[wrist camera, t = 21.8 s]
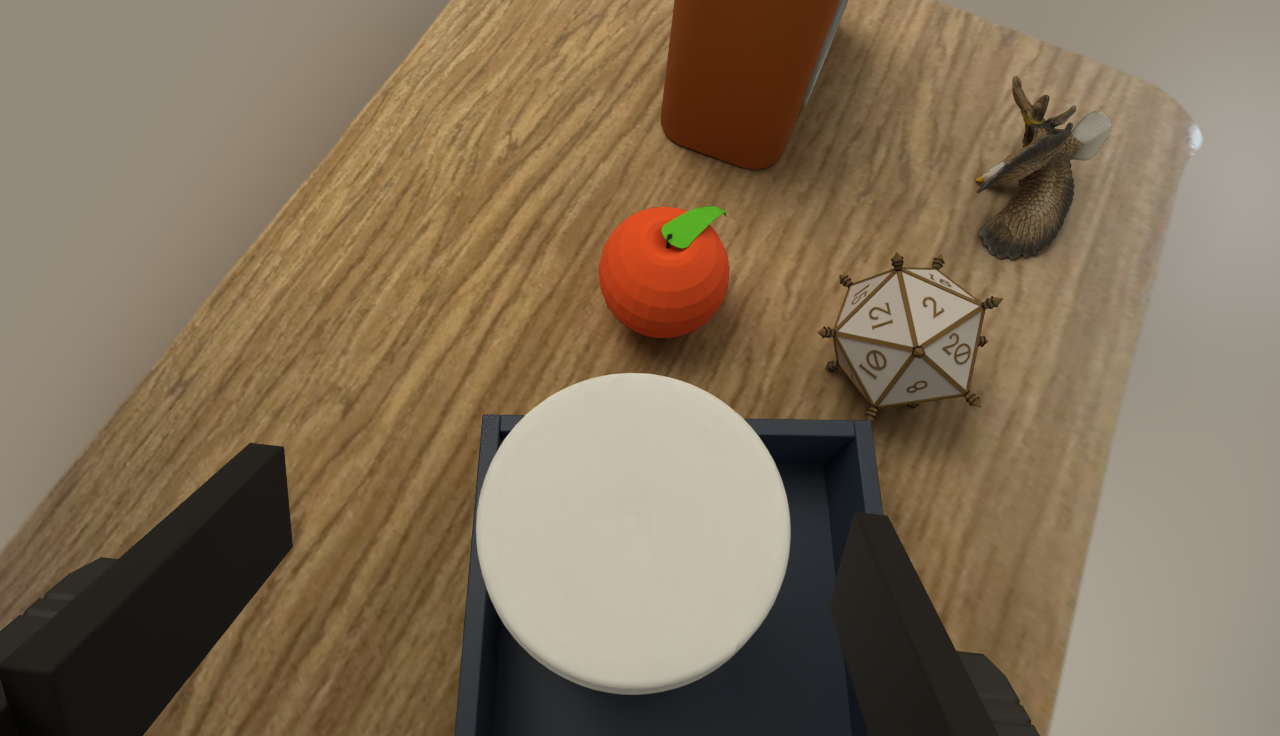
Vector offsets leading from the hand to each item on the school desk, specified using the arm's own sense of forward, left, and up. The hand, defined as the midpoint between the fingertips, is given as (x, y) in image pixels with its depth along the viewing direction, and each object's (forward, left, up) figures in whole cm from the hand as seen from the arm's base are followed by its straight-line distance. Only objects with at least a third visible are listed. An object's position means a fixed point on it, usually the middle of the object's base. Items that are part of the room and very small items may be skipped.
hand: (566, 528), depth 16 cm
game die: (+16, +13, -20) cm, 29 cm away
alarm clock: (+10, +34, -20) cm, 40 cm away
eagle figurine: (+26, +25, -20) cm, 41 cm away
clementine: (+4, +17, -20) cm, 26 cm away
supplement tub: (+2, +1, -19) cm, 19 cm away
